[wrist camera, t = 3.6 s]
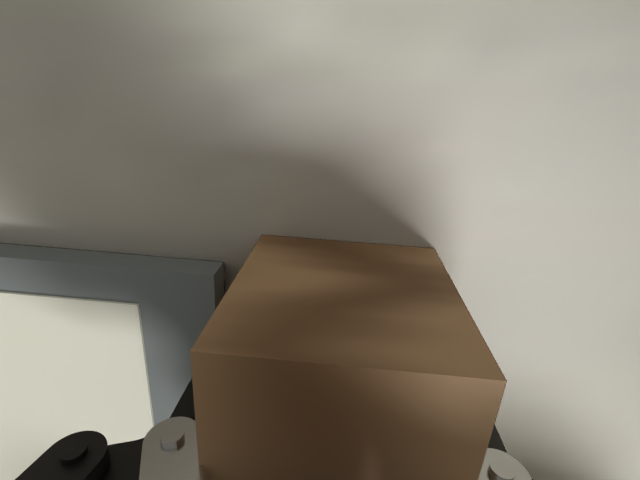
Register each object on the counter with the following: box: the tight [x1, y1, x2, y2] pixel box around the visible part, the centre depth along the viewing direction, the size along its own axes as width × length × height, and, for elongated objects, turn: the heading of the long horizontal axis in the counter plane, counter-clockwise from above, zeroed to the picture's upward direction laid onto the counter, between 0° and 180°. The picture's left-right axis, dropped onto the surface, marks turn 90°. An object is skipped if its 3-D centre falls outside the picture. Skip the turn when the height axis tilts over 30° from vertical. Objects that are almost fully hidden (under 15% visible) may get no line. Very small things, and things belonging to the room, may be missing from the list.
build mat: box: [0, 243, 225, 480], centre depth 15 cm, size 12×12×1 cm
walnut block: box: [190, 235, 507, 480], centre depth 11 cm, size 6×8×6 cm
